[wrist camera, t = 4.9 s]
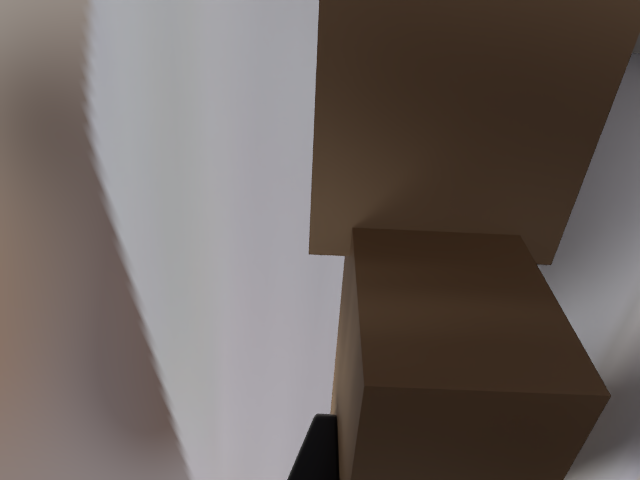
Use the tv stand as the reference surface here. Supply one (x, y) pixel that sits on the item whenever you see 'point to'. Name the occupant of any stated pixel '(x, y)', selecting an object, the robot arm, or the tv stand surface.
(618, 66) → the brown wooden bar
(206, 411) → the tv stand surface
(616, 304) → the tv stand surface
